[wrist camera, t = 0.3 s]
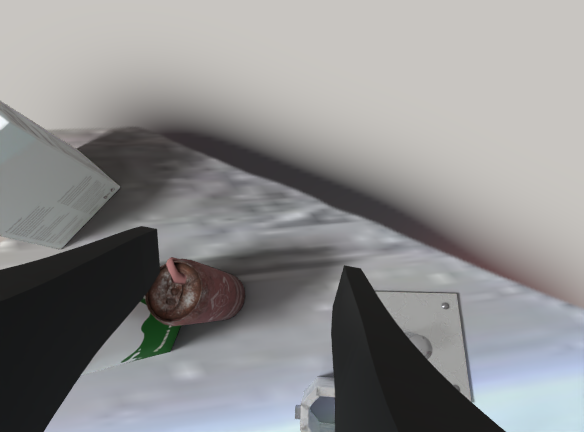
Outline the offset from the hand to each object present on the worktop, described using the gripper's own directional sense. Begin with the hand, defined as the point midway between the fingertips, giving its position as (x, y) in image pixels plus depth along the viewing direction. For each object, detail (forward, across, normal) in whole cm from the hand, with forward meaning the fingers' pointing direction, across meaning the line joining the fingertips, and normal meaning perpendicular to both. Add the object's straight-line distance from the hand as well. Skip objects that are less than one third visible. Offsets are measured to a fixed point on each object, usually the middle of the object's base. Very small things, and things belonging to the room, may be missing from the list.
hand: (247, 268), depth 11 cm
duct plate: (+18, -17, +20) cm, 32 cm away
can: (+21, +7, +22) cm, 31 cm away
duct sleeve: (+13, -8, +27) cm, 31 cm away
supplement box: (+30, +37, +16) cm, 51 cm away
